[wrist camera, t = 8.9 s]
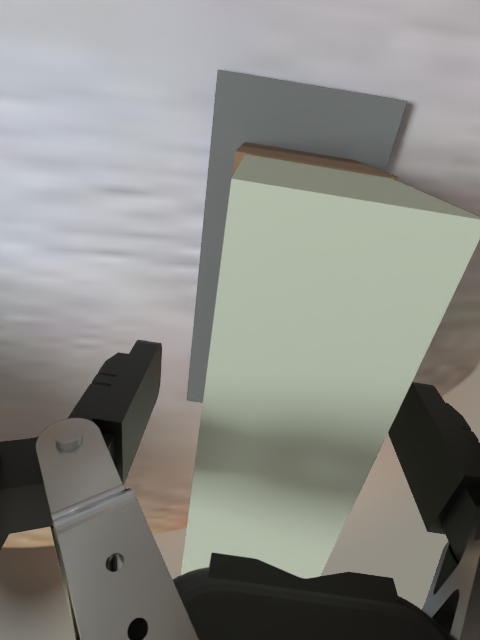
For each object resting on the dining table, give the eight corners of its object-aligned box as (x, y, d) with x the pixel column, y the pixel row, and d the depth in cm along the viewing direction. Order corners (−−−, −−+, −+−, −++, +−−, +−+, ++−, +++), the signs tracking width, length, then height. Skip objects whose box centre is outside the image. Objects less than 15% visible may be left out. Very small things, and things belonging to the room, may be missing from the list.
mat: (218, 70, 15) (217, 69, 15) (404, 101, 16) (407, 100, 15) (187, 396, 24) (186, 400, 24) (306, 414, 24) (307, 418, 24)
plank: (245, 154, 11) (231, 178, 6) (390, 178, 11) (488, 220, 6) (203, 451, 17) (180, 578, 12) (297, 465, 17) (309, 596, 13)
